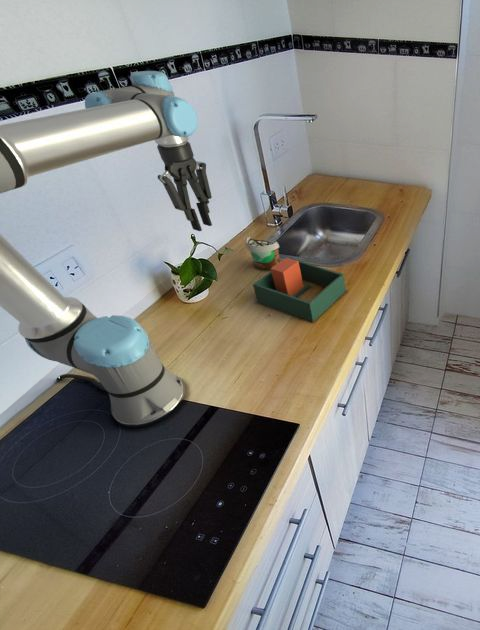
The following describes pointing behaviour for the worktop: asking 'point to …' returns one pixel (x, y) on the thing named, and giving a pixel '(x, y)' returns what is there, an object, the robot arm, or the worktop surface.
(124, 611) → the worktop surface
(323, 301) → the bin
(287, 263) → the carton
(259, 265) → the food container
